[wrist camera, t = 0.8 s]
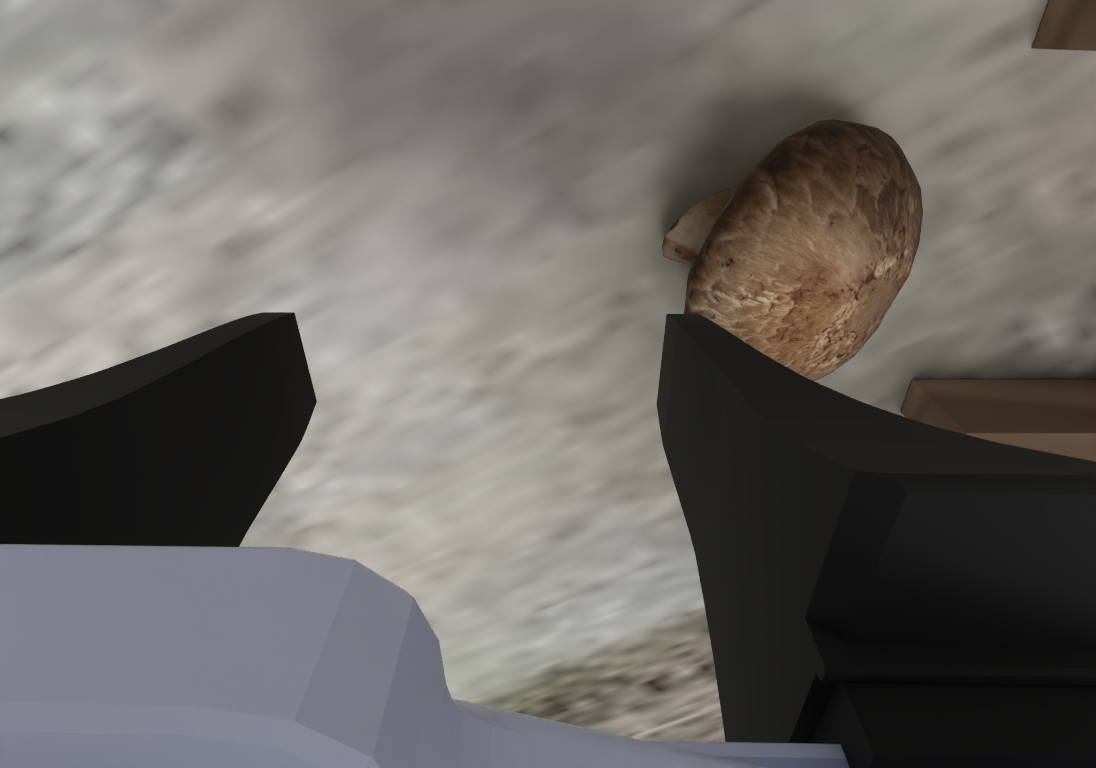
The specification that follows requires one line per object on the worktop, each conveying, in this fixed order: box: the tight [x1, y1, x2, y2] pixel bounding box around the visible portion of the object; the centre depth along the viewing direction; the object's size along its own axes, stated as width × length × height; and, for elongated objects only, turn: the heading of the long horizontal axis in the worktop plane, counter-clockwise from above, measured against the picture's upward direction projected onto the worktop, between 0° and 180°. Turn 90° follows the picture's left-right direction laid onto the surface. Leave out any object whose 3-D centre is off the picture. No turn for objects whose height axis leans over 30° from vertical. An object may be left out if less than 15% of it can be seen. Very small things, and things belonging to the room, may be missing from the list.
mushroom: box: [662, 119, 923, 381], centre depth 18 cm, size 8×8×6 cm
